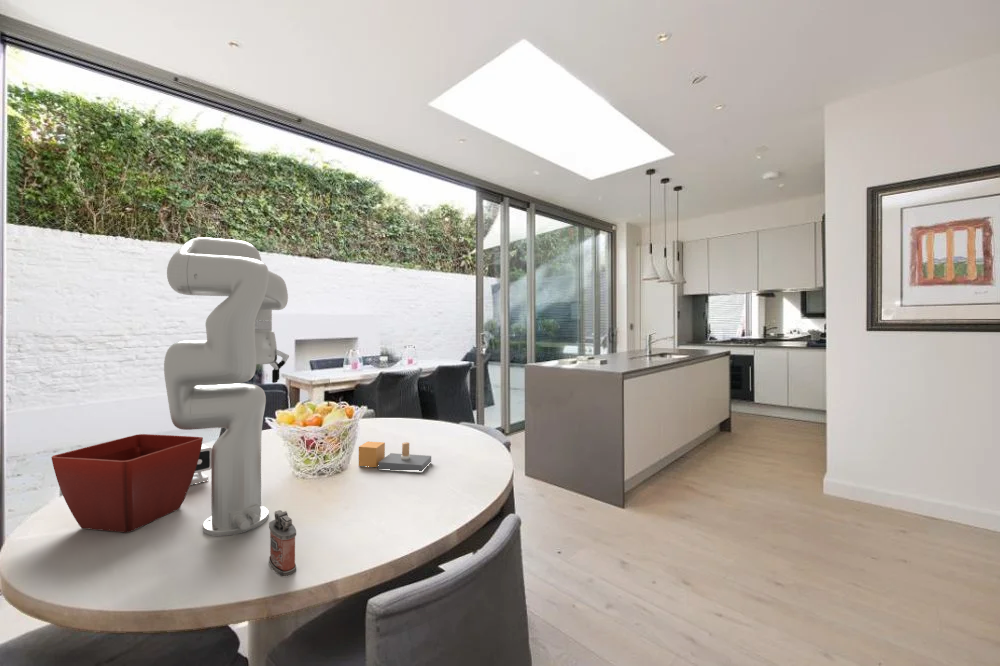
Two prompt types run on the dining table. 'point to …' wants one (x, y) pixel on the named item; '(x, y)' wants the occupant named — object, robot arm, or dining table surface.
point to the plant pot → (127, 480)
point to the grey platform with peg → (404, 460)
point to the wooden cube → (371, 453)
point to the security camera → (202, 465)
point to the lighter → (282, 544)
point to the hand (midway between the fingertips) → (257, 382)
